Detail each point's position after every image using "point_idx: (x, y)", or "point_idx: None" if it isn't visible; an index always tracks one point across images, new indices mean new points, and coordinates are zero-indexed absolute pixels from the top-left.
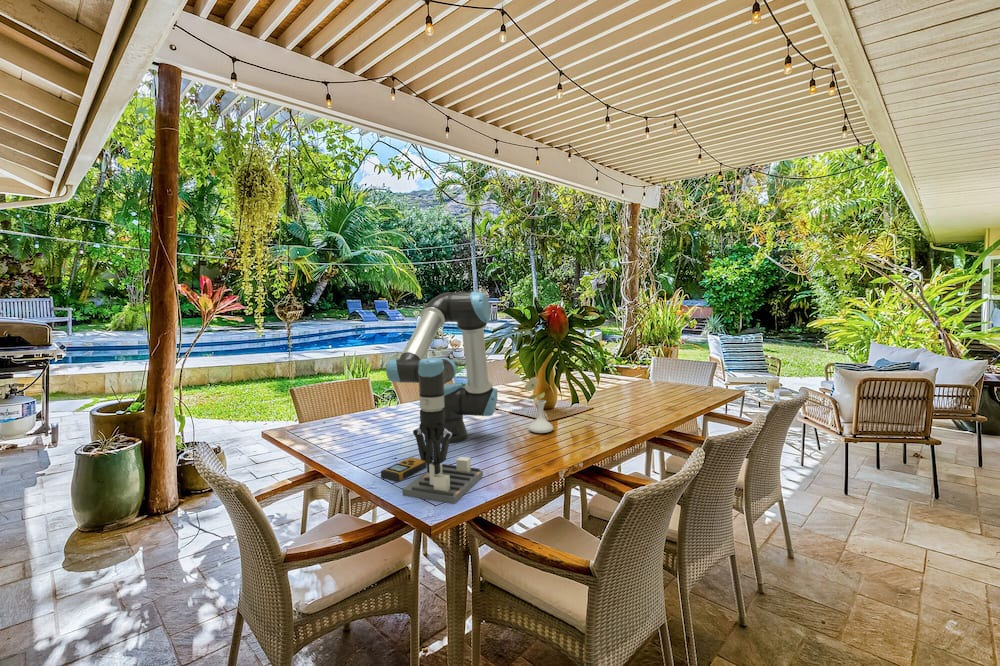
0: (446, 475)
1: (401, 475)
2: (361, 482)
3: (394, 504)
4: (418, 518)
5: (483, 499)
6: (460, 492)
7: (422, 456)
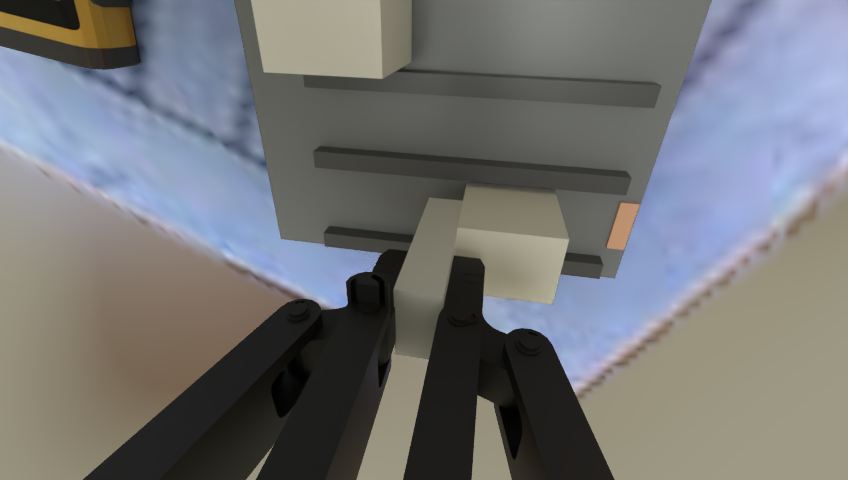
0: (542, 248)
1: (107, 22)
2: (5, 130)
3: (324, 303)
4: None
5: (801, 171)
6: (638, 205)
7: (297, 395)
